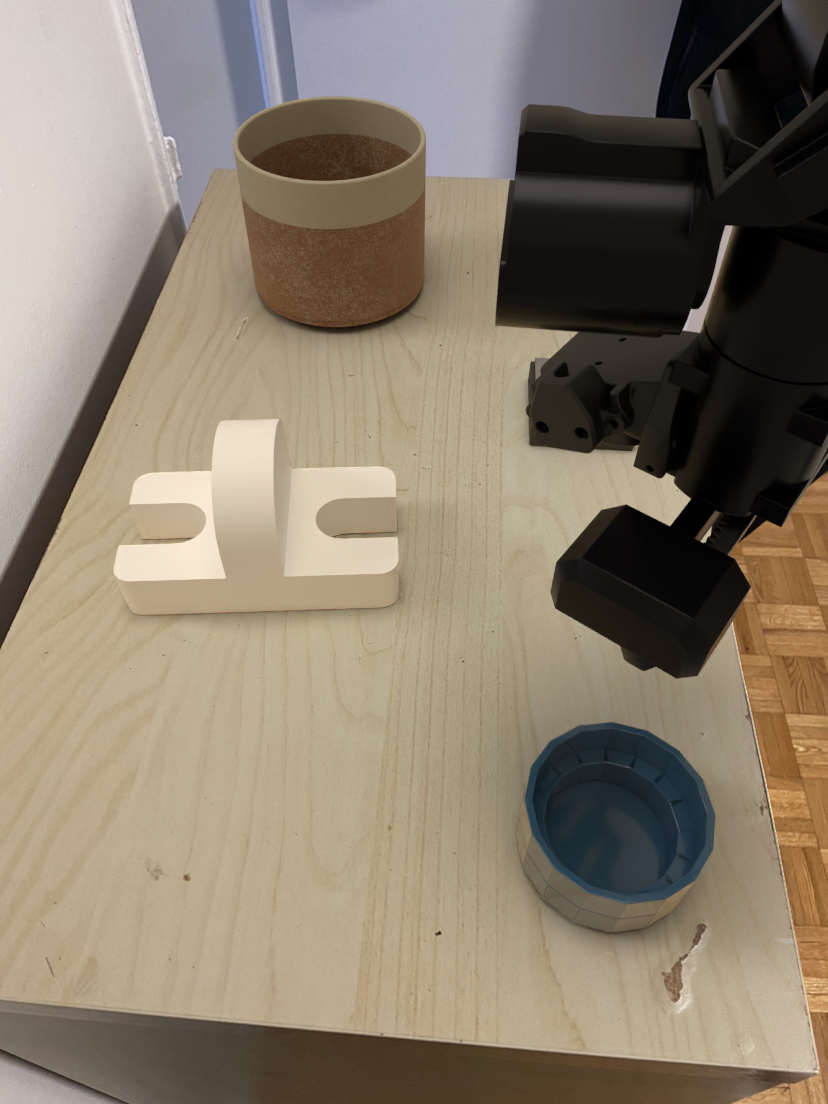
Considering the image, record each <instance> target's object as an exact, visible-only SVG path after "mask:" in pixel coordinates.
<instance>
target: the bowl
mask: <svg viewBox="0 0 828 1104" xmlns="http://www.w3.org/2000/svg"><path fill="white" fill-rule="evenodd" d="M527 776H528V777H527V780H526V785H525V789H524V792H523V793H524V794H523V796H522V800H521V801H522V802H521V806H520V811H519V815H518V819H517V826H516V831H515V837H516V842H517V843H516V844H517V847H518V853H519V857H520V862H521V863H520V864H521V867H522V869H523V871H524V872H525V874H526V875H527V877H528V879H529V880H530V881H531V883H532V885H533V886H534V888H535V890H536V892H537V893H538V894H539V896H540V897H541V899H543V901H545V902H546V903H547V904H549V905H550V906H551V907H553V908H554V909H555V910H556V911H558V912H559V913H560V914H562V916H564V917H566V918H567V919H569V920H570V921H571V922H573V923H574V924H578V925H581V926H584V927H588V928H592V929H595V930H599V931H602V932H606V933H618V932H627V931H634V930H640V929H641V930H642V929H645V928H648V927H650V926H651V925H653V924H654V923H656V922H657V921H659V920H661V918H664V917H665V916H667V915H668V914H669V913H671V912H672V911H674V910H675V908H676V907H677V906H678V904H679V903H680V902H681V900H682V899H683V898H684V897H685V895H686V894H687V893H688V891H689V890H690V889H691V887H692V886H693V885H694V884H695V882H696V881H697V880H698V877H699V876H700V874H701V872H702V871H703V869H704V867H705V865H706V864H707V862H708V860H709V858H710V856H711V855H712V853H713V851H714V845H715V844H714V843H715V842H714V841H715V826H716V825H715V824H716V812H715V809H714V807H713V804H712V800H711V797H710V795H709V792H708V790H707V787H706V784H705V781H704V779H703V777H702V776H701V775H700V774H699V773H698V772H697V770H696V769H695V768H694V767H693V765H692V764H691V762H690V761H688V759H687V758H686V757H685V756H684V754H683V753H682V752H681V751H680V750H679V749H678V748H676V747H675V746H673V745H672V744H670V743H668V742H667V741H665V740H663V739H662V738H660V737H658V736H657V735H656V734H654V733H653V732H650V731H649V730H647V729H643V728H639V727H635V726H631V725H627V724H622V723H619V722H615V721H607V722H598V723H589V724H580V725H577V726H575V727H573V728H571V729H569V730H567V731H566V732H564V733H562V734H560V735H559V736H557V737H555V738H553V739H551V740H549V742H548V743H547V744H546V746H545V747H544V749H542V750H541V752H540V754H538V756H537V758H536V759H535V760H534V761H533V763H532V764H531V766H530V767H529V772H528V775H527Z"/></svg>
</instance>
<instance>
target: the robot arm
mask: <svg viewBox="0 0 828 1104" xmlns="http://www.w3.org/2000/svg"><path fill="white" fill-rule="evenodd" d="M799 91H802V94H803V96H804V99H805V101H806V104H807V106H806V107H805V108H804V109H802V111H801V112H800V113H799V114H797V115H796V116H795V117H794V118H793V119H792V120H790V122H788V123H787V124H786V125H784V127H783V125H782V123H781V120H780V116H779V114H778V111H777V108H776V103H778V102H781V101H782V100H783V99H786V98H789V97H790V96H792V95H794V94H796V93H798V92H799ZM687 99H688V105H689V110H690V117H689V118H690V119H689V118H687V119H686V118H685V119H684V118H671V117H669V118H667V117H649V116H648V117H647V116H631V115H613V114H612V115H610V114H609V115H608V114H596V113H588V112H584V111H582V110H579V109H576V108H572V107H569V106H564V105H553V104H536V103H535V104H533V103H529V104H527V105H526V106H525V107H524V108H523V109H522V110H521V112H520V121H519V127H518V128H519V129H518V137H517V150H516V161H515V171H514V179H509V184H508V191H507V200H506V207H505V217H504V223H503V233H502V242H501V250H500V258H499V268H498V278H497V291H496V292H497V293H496V303H495V304H496V305H495V316H494V317H495V319H494V326H495V327H503V328H504V327H506V328H519V329H532V330H533V329H534V330H545V331H548V330H549V331H559V332H570V333H571V332H572V333H573V332H574V333H576V334H574V336H573V337H571V338H570V339H569V340H568V341H567V342H566V343H565V344H564V345H562V347H560V348H559V349H558V351H556V352H555V353H554V354H553V355H551V357H549V358H550V359H549V360H548V361H547V362H545V363H544V364H543V366H542V367H541V369H540V373H541V375H540V376H539V377H538V378H537V379H536V380H535V381H534V382H533V383H532V384H531V388H532V393H533V398H532V402H531V403H530V404H529V403H528V405H526V406H525V407H526V408H525V413H526V415H527V417H528V419H529V418H530V419H531V420H532V425H533V429H534V433H535V436H536V438H537V439H538V440H539V441H540V442H541V443H542V444H543V445H545V446H544V447H547V448H551V449H557V450H563V451H568V452H575V453H581V454H591V453H592V452H593V451H595V450H596V449H597V448H596V447H597V446H598V445H599V444H600V443H606V444H612V445H619V446H634V447H636V446H638V447H637V450H636V454H635V458H634V461H633V465H632V466H633V467H634V468H636V469H638V470H640V471H642V472H644V473H646V474H648V475H650V476H652V477H655V478H656V479H660V480H661V479H663V478H664V477H665V476H666V474H667V475H669V476H672V477H674V479H673V484H674V485H675V486H676V487H677V489H678V490H679V491H680V492H681V493H682V494H683V495H686V497H688V498H689V499H690V500H689V501H688V502H687V504H686V505H685V506H684V508H682V510H681V511H680V512H679V514H678V515H677V516H676V517H675V519H674V520H673V522H672V523H671V524H670V525H668V524H667V523H664V522H663V521H661V520H658V519H657V518H655V517H653V516H651V515H649V514H646V513H644V512H642V511H641V510H639V509H636V508H635V507H632V506H630V505H628V504H627V503H626V504H621V505H617V506H611V507H608V508H604V509H601V510H600V511H599V512H598V513H597V514H596V515H595V516H594V518H593V519H592V520H591V521H590V522H589V523H588V524H587V526H586V527H585V529H583V530H582V532H581V533H580V534H579V535H578V537H576V538H575V540H574V541H573V542H572V543H571V545H570V546H568V548H567V549H566V550H565V551H564V552H563V554H562V555H561V556H560V557H559V558H558V559H557V561H556V562H555V566H554V572H553V576H552V581H551V587H550V591H549V593H550V596H551V599H552V602H553V607H554V609H555V610H556V611H558V612H560V613H562V614H564V615H565V616H567V617H568V618H571V619H573V620H574V621H576V622H578V623H579V624H581V625H583V626H584V627H586V628H588V629H589V630H591V631H593V632H595V633H597V634H599V636H602V637H603V638H605V639H606V640H609V641H610V642H612V643H614V644H616V645H617V646H619V647H620V650H621V654H622V658H623V660H624V661H625V662H626V663H627V664H629V665H631V666H633V667H635V668H637V669H638V670H640V671H641V672H646V671H648V670H652V669H654V668H655V669H656V668H657V669H659V670H661V671H662V672H664V673H665V674H667V675H669V676H671V677H672V678H675V679H685V678H693V677H694V678H695V677H698V676H699V675H700V673H701V671H702V670H703V668H704V667H705V665H706V664H707V662H708V661H709V659H710V658H711V656H712V655H713V653H714V651H715V650H716V648H717V647H718V645H719V644H720V643H721V641H722V639H723V638H724V637H725V635H726V633H727V632H728V630H729V628H730V626H731V625H732V623H733V621H734V619H735V618H736V617H737V614H738V613H739V611H740V609H741V607H742V606H743V604H744V602H745V600H746V598H747V596H748V594H749V592H750V590H751V588H752V585H751V584H750V582H749V580H748V578H747V577H746V575H745V573H744V572H743V570H742V568H741V567H740V565H739V564H738V562H737V560H736V558H735V557H732V556H730V555H731V554H732V552H733V551H734V550H735V548H736V546H737V545H738V544H739V543H741V542H742V541H744V540H745V539H746V538H747V537H749V536H750V535H751V534H752V533H753V532H755V531H756V530H757V529H758V528H760V527H761V526H762V525H763V524H764V523H765V522H769V523H770V524H772V525H775V526H777V527H779V528H783V526H784V524H785V523H786V521H787V520H788V518H789V517H790V515H791V513H792V512H793V511H794V510H795V508H796V506H797V505H798V503H799V502H800V501H801V498H802V497H803V496H804V494H805V493H806V491H807V490H808V488H809V487H811V486H812V485H813V484H814V483H816V482H817V481H818V480H819V479H820V478H822V477H823V476H824V475H825V474H826V473H827V472H828V0H774V1H773V2H771V4H770V5H769V6H768V7H767V8H766V9H765V10H764V11H763V12H762V13H761V14H760V15H759V16H758V17H757V18H756V19H755V20H754V21H753V22H752V23H751V24H750V25H749V26H748V27H747V28H746V29H745V30H744V31H743V32H742V33H741V34H740V35H739V36H738V37H737V38H736V40H734V41H733V42H732V43H731V44H730V45H729V47H727V48H726V49H725V50H724V51H723V52H722V53H721V54H720V55H719V57H718V58H717V59H716V60H715V61H713V62H712V64H711V65H710V66H708V67H707V68H706V69H705V71H704V72H703V73H702V74H700V76H698V78H697V79H695V81H694V82H693V83H692V84H691V85H690V86H689V89H688V91H687ZM726 226H730V227H732V228H731V231H730V235H729V237H728V241H727V245H726V248H725V251H724V254H723V258H722V261H721V264H720V266H719V267H720V268H719V270H718V274H717V277H716V280H715V283H714V285H713V290H712V293H711V296H710V300H709V302H708V306H707V309H706V312H705V315H704V319H703V321H702V324H701V328H700V332H697V331H690V330H684V328H685V326H686V324H687V321H688V320H689V316H690V313H691V310H699V309H700V308H701V307H702V305H704V302H705V300H706V298H707V295H708V293H709V290H710V287H711V284H712V281H713V278H714V273H715V270H716V266H717V261H718V258H719V257H718V256H719V251H720V248H721V247H720V246H721V244H722V243H721V242H722V238H723V235H724V232H725V228H726ZM710 529H711V530H710ZM709 531H710V535H708V536H707V537H706V540H705V541H704V542H702V540H703V539H704V537H705V536H706V534H708V532H709Z"/></svg>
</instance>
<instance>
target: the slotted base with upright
mask: <svg viewBox="0 0 828 1104" xmlns="http://www.w3.org/2000/svg"><path fill="white" fill-rule="evenodd" d="M289 446H290V445H289V440H288V435H287V430H286V426H285V422H284V420H283V419H282V418H265V419H264V418H261V419H224V420H221V421H219V423H218V425H217V427H216V430H215V436H214V438H213V445H212V454H211V470H194V471H193V470H192V471H191V470H190V471H156V472H154V471H153V472H148V473H144V474H142V475H140V476H138V478H136V479H135V481H134V482H133V485H132V489H131V492H130V498H129V502H128V506H129V509H130V511H131V514H132V517H133V521H134V522H135V525H136V527H137V530H138V533H139V535H140V538H141V540H160V539H161V540H166V539H168V540H169V539H189V540H186V541H182V542H176V543H148V544H147V543H146V544H145V543H144V544H119V545H118V547H117V550H116V551H117V552H116V556H115V559H114V563H113V568H112V569H113V570H112V571H113V574H114V577H115V579H116V581H117V584H118V586H119V588H120V590H121V593H122V595H123V597H124V599H125V601H126V604H127V606H128V609H129V610H130V611H131V612H132V613H134V614H136V615H138V616H155V615H156V616H158V615H159V616H160V615H187V614H218V613H219V614H221V613H222V614H223V613H224V614H225V613H249V612H250V613H253V612H255V613H256V612H283V611H285V612H286V611H317V610H344V609H345V610H347V609H378V608H380V609H381V608H387V607H390V606H392V605H394V604H395V603H396V602H397V600H398V599H399V596H400V567H399V566H400V563H399V562H400V561H399V558H400V557H399V537H398V536H388V537H387V536H384V537H383V536H382V537H381V536H380V537H351V538H340V537H336V536H338V535H344V534H371V533H397V532H398V515H397V481H396V475H395V473H394V471H392V469H391V468H388V467H385V466H379V465H377V466H375V465H373V466H372V465H371V466H342V467H341V466H340V467H339V466H337V467H301V468H300V467H299V468H293V466H292V460H291V459H292V458H291V452H290V447H289Z"/></svg>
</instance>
